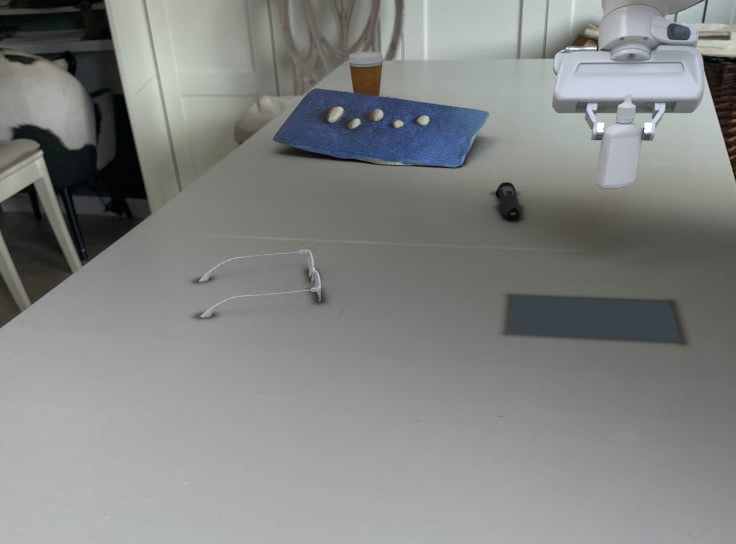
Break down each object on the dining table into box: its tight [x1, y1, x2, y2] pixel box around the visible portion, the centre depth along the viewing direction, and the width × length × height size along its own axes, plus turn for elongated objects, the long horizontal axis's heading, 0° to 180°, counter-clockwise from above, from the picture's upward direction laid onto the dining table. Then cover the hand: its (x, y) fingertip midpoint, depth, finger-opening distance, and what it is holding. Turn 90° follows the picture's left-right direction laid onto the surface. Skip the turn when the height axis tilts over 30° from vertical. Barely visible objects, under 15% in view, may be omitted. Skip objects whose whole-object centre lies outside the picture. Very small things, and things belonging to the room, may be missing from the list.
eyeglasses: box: [198, 249, 322, 318], centre depth 122 cm, size 15×18×4 cm
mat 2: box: [508, 296, 681, 343], centre depth 111 cm, size 22×12×1 cm, turn 79°
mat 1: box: [272, 87, 490, 168], centre depth 185 cm, size 45×27×12 cm, turn 69°
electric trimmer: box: [495, 181, 521, 219], centre depth 148 cm, size 4×16×3 cm, turn 177°
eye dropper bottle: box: [595, 94, 643, 190], centre depth 114 cm, size 4×6×12 cm
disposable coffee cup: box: [347, 51, 385, 96], centre depth 214 cm, size 10×10×12 cm
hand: (622, 138), depth 113 cm, fingers closed on eye dropper bottle, 5 cm apart
